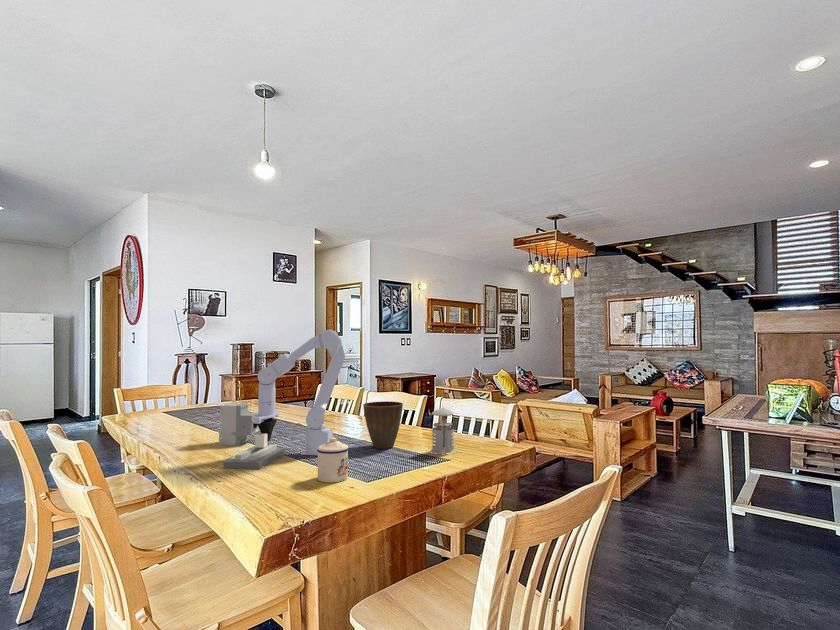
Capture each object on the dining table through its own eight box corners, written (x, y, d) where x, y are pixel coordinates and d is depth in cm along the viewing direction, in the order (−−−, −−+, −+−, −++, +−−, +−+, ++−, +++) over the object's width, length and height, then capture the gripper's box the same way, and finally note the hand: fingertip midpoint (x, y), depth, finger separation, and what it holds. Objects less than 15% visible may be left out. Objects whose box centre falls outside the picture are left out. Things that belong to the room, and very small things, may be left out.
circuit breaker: (255, 445, 178) (256, 405, 179) (218, 445, 179) (219, 405, 179) (262, 440, 186) (263, 403, 186) (227, 440, 186) (228, 403, 187)
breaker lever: (258, 450, 160) (259, 433, 161) (267, 450, 160) (267, 433, 160) (254, 452, 158) (254, 435, 158) (263, 452, 157) (263, 435, 157)
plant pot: (357, 450, 169) (357, 406, 170) (370, 441, 184) (370, 400, 184) (396, 452, 166) (396, 407, 167) (407, 443, 180) (407, 401, 181)
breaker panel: (254, 452, 166) (254, 442, 167) (286, 453, 165) (286, 443, 165) (223, 467, 147) (223, 456, 147) (259, 469, 145) (259, 457, 145)
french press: (455, 448, 172) (455, 380, 173) (459, 456, 160) (458, 383, 161) (428, 448, 171) (428, 380, 173) (430, 456, 160) (430, 383, 161)
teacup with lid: (343, 484, 130) (343, 441, 130) (312, 482, 131) (312, 441, 132) (354, 471, 142) (354, 433, 142) (326, 470, 143) (326, 432, 143)
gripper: (266, 399, 171) (265, 436, 170) (245, 404, 157) (245, 445, 156) (284, 399, 170) (283, 436, 169) (265, 404, 156) (264, 445, 155)
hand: (266, 440), depth 163 cm, fingers closed
